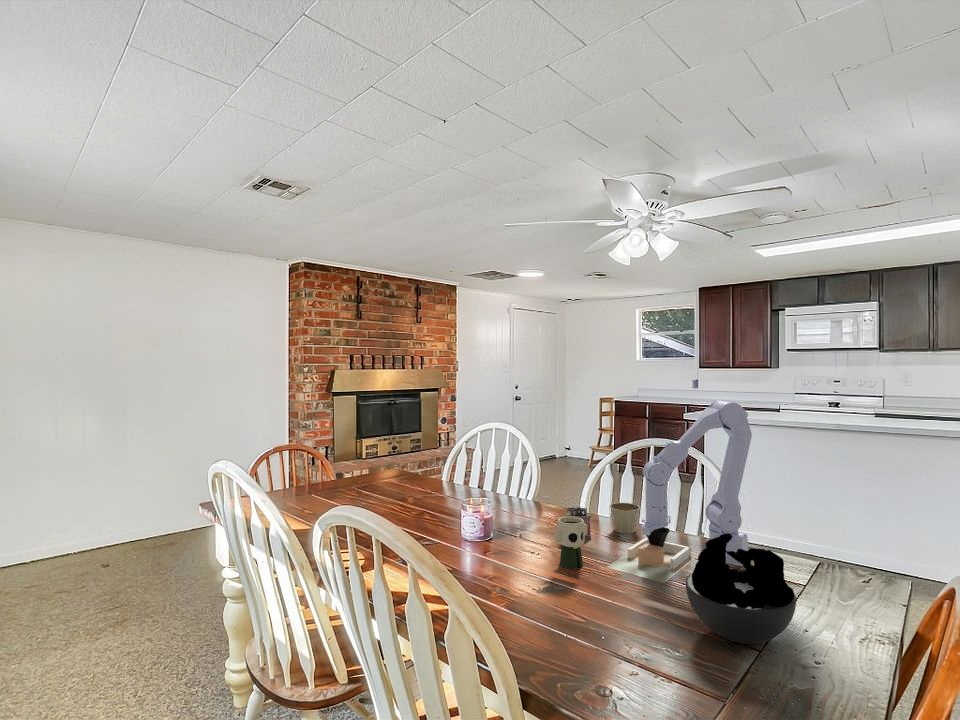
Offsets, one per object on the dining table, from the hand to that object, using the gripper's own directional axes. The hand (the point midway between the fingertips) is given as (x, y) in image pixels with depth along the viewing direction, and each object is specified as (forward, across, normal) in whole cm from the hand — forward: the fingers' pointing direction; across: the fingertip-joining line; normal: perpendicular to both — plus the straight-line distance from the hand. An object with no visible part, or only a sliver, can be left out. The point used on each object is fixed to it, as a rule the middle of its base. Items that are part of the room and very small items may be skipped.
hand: (657, 554), depth 149 cm
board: (+2, +4, 0) cm, 4 cm away
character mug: (+2, +19, -16) cm, 25 cm away
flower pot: (+2, -17, -18) cm, 25 cm away
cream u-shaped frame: (+1, -1, 0) cm, 2 cm away
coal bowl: (+2, +28, +29) cm, 41 cm away
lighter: (+2, -3, -27) cm, 27 cm away
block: (+1, +4, 0) cm, 4 cm away
